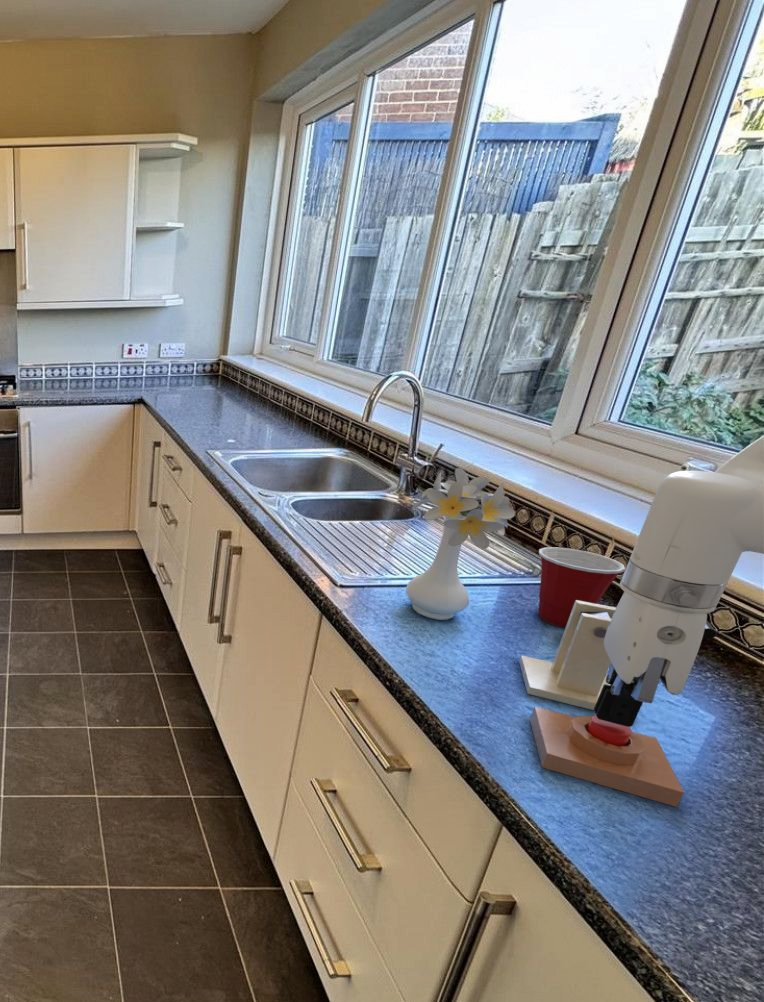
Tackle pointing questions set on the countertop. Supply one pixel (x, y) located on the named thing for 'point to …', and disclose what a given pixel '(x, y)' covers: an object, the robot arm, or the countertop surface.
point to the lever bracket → (573, 660)
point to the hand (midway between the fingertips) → (611, 718)
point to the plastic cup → (572, 581)
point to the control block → (604, 757)
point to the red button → (609, 731)
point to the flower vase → (456, 540)
